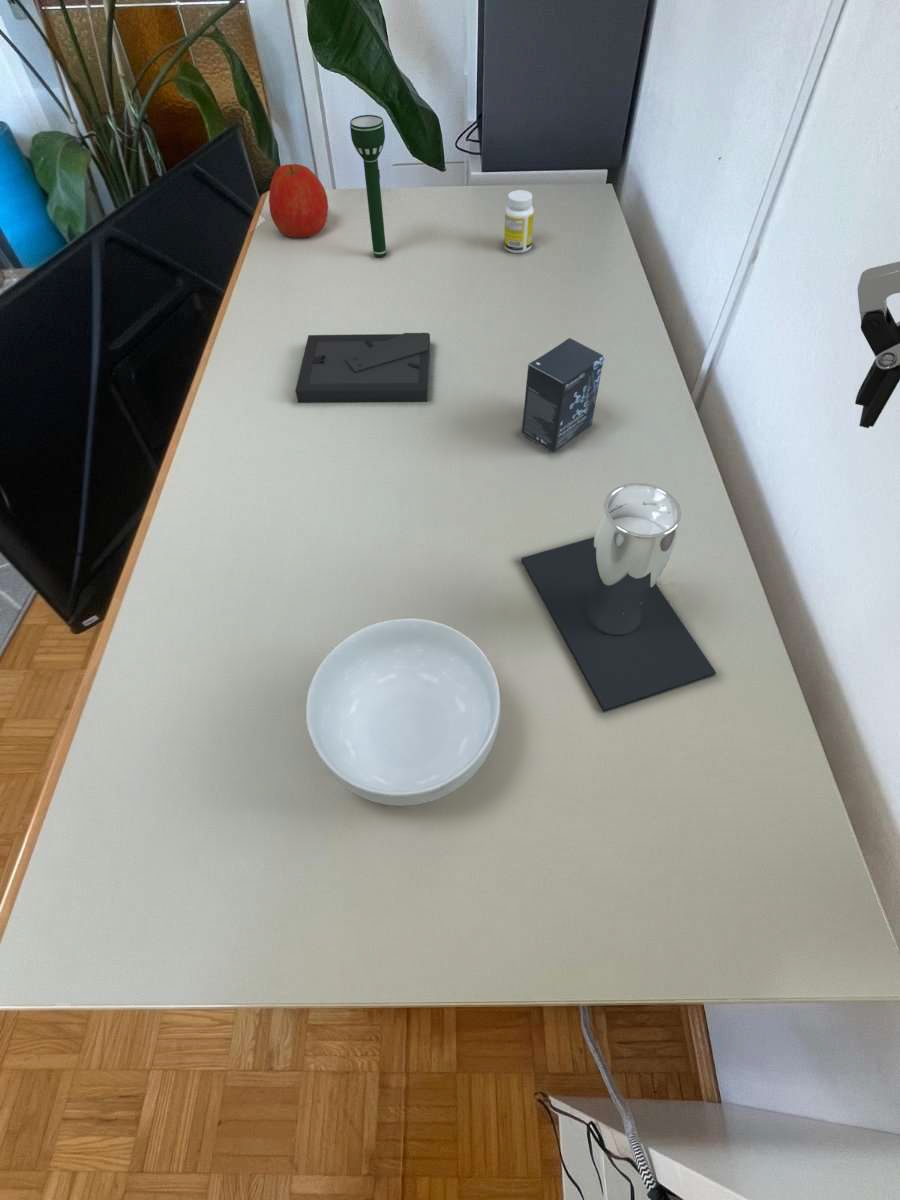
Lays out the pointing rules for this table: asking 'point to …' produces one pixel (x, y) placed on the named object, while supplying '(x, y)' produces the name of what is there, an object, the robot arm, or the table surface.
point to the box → (561, 394)
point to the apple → (297, 201)
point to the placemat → (608, 661)
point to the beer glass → (630, 554)
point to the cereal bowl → (403, 711)
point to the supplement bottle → (518, 222)
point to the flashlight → (371, 172)
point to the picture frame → (365, 368)
